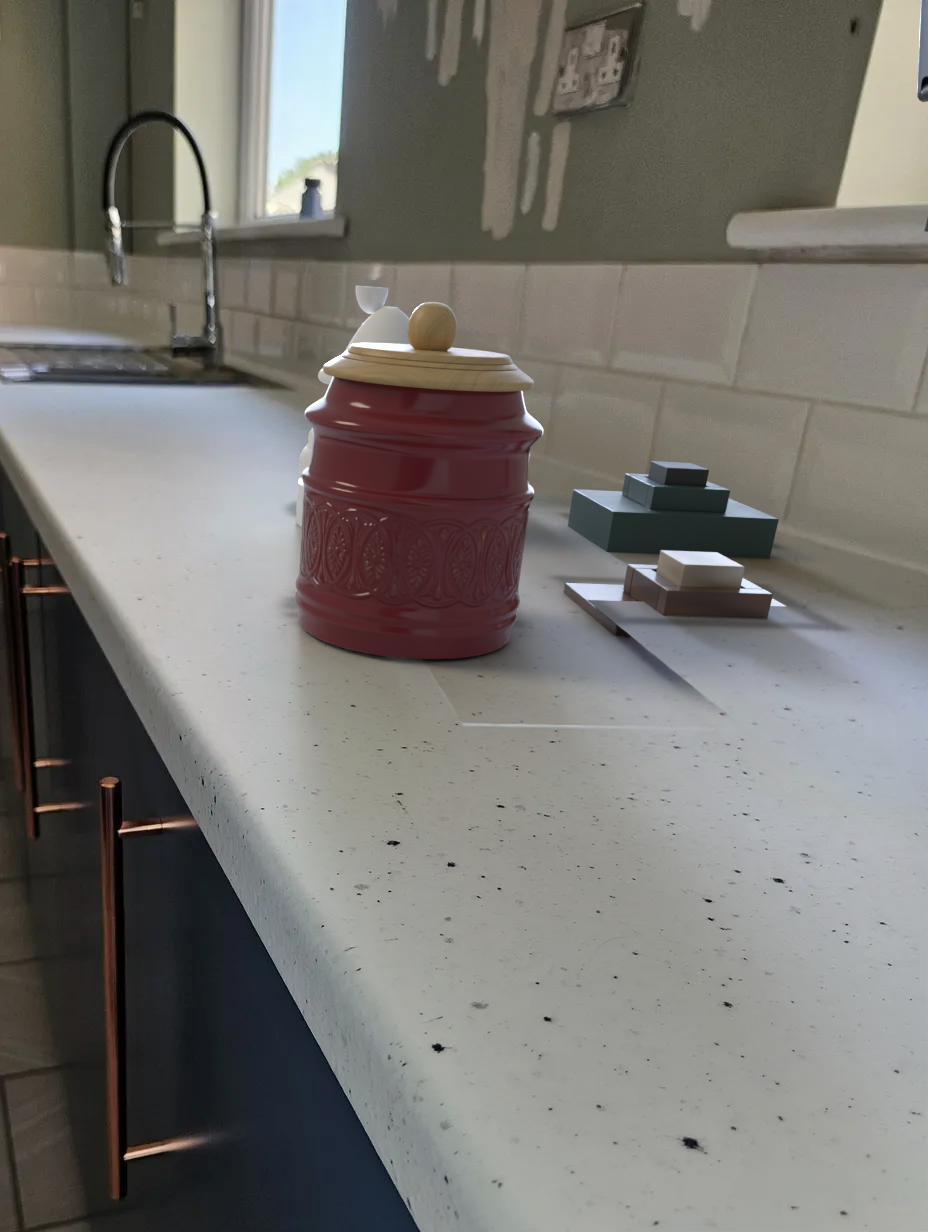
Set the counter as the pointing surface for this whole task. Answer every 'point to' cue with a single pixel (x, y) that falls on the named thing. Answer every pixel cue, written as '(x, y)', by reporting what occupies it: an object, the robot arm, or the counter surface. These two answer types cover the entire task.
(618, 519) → the tiered step pyramid
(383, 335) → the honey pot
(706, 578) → the ivory key
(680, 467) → the ebony key
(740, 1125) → the counter surface
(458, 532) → the kitchen canister
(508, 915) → the counter surface
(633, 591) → the stepped block pedestal
